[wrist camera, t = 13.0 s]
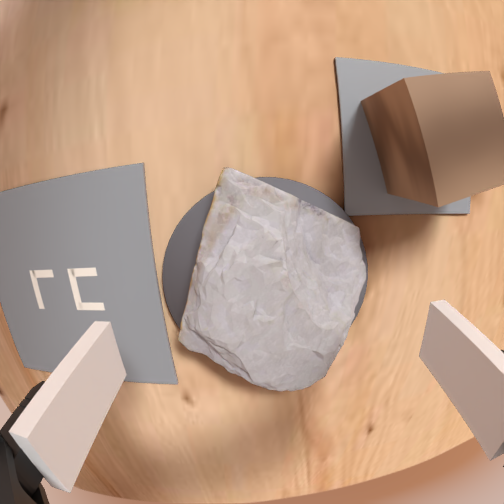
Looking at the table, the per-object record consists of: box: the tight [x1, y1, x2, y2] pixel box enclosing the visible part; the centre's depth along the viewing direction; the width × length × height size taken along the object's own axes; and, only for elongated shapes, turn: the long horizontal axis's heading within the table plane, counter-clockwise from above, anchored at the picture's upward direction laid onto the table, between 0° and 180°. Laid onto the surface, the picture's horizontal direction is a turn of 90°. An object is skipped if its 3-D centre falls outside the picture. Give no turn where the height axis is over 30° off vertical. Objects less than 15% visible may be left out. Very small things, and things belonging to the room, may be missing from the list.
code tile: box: [0, 163, 178, 384], centre depth 20 cm, size 16×16×1 cm
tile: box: [335, 57, 470, 216], centre depth 17 cm, size 10×10×1 cm
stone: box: [178, 167, 366, 391], centre depth 17 cm, size 10×12×4 cm
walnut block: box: [361, 71, 504, 207], centre depth 14 cm, size 6×6×6 cm
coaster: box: [162, 177, 368, 328], centre depth 19 cm, size 13×13×1 cm
